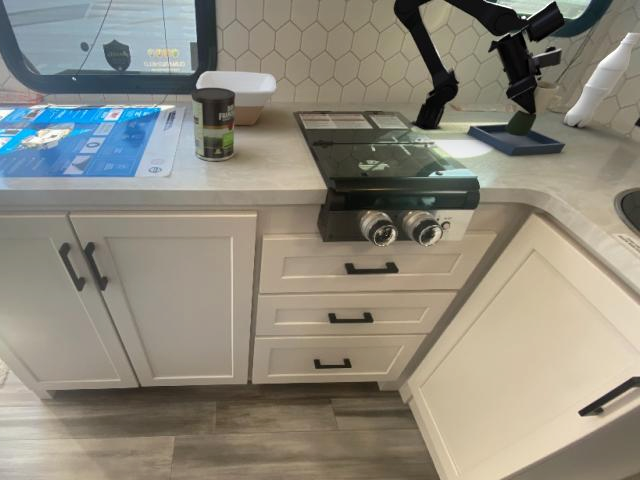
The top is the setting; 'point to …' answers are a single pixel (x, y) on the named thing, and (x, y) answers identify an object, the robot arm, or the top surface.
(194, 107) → the coffee can
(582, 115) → the water bottle
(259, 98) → the bowl
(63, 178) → the top surface
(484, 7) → the robot arm
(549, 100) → the character mug
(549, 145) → the shallow blue square tray
